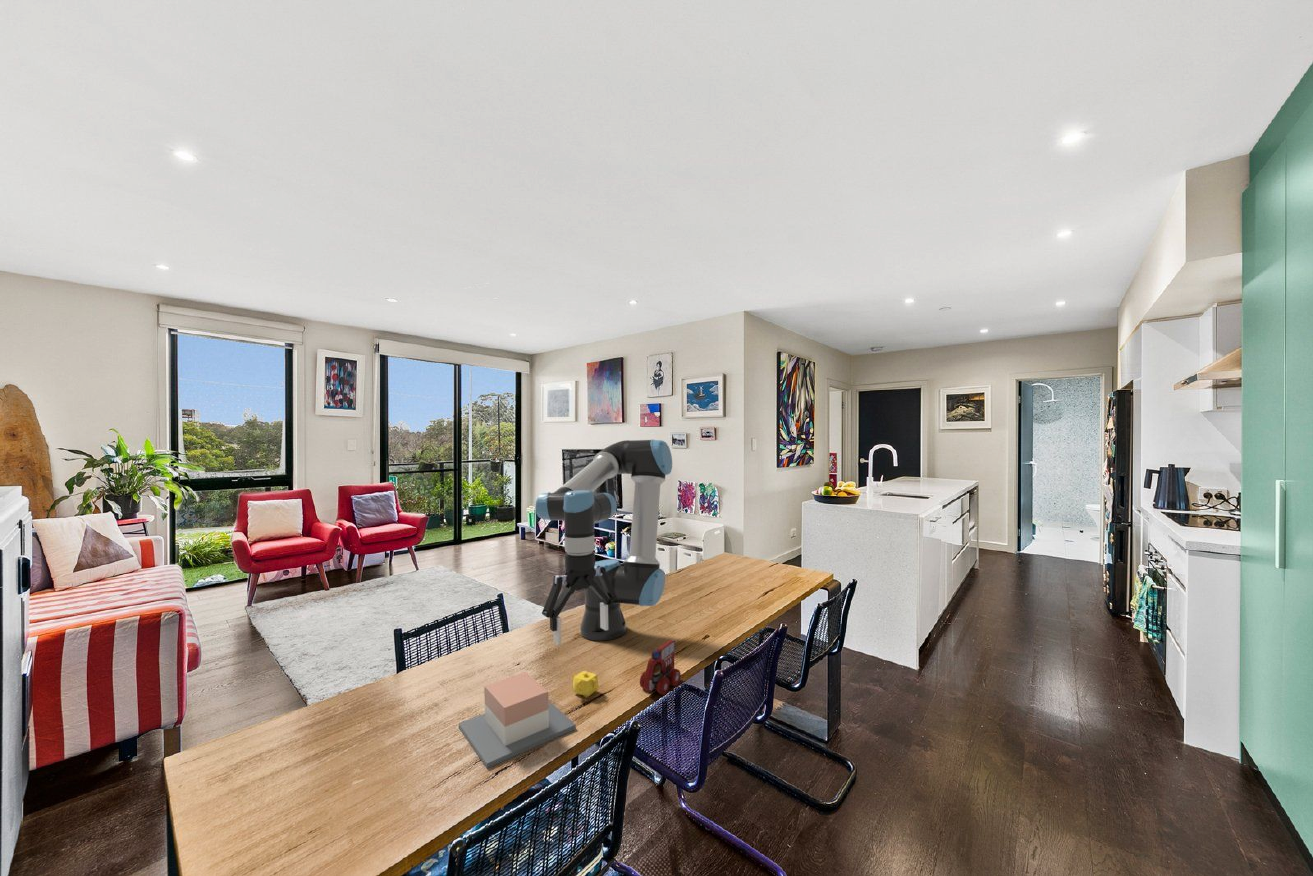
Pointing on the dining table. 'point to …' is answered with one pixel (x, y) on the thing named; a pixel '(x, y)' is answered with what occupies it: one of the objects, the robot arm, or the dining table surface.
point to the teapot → (585, 683)
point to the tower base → (505, 752)
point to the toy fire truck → (661, 670)
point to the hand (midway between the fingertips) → (581, 635)
